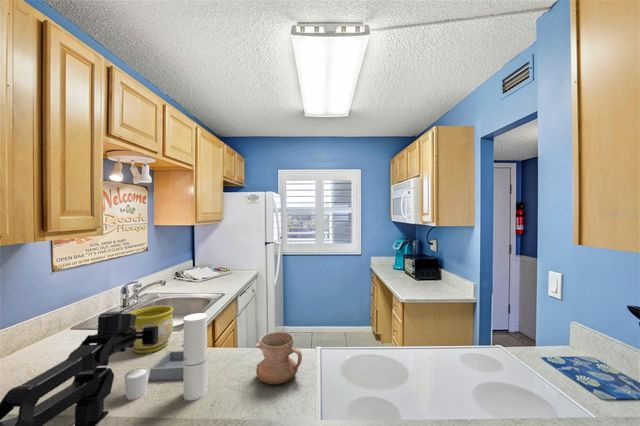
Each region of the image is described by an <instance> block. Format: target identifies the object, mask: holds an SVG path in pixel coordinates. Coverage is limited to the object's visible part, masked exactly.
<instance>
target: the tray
mask: <svg viewBox="0 0 640 426" xmlns="http://www.w3.org/2000/svg"><path fill="white" fill-rule="evenodd" d="M183 365H184V350H169V351H168V352H167V353H166V354H165V355H164V356H163V357H162V358H160V359H159V360H158V362H156V363H155V364H154V365H153V366H152V367H151V368H150V369H149V373H150V374H149V375H150V377H149V379H150V381H165V380H166V381H168V380H169V381H170V380H183Z"/></svg>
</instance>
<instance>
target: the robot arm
mask: <svg viewBox="0 0 640 426" xmlns="http://www.w3.org/2000/svg"><path fill="white" fill-rule="evenodd" d="M136 318H137V316H136V315H134V314H130V312H128V313H123V311H110V312H103V313H100V315H98V317H97V333H96V334H88V335H87V336H86V337H85V338H84V340H82V342H81V343H80V344H79V346H78V347H77V348H75V349H74V350H72V351H71V352H70V353H69V355H68V357H67V358H66V359H65V360H63V361H61V362H60V363H57V364H56V365H55V366H53V367H51V368H50V369H49V368H48V369H47V370H46V371H43V372H42V373H40V374H38V375H37V376H35V377H33V378H31V379H30V380H29V379H28V380H27V381H26V382H24V383H22V384H20V385H18V386H14V387H12V388H11V389H9V390H8V391H7V392H6V394H5V395H4V396H3V398H2V399H1V401H0V426H45V424H47V423H48V422H50V421H51V420H53V419H54V418H56V417H57V416H59V415H61V414H62V413H63V412H65V411H66V410H68V409H69V408H71V407H73V405H75V407H74V422H75V426H95V425H96V424H97V423H98V422H99V421H100V420H101V419H102V420H103V419H104V418H105V417H106V416H107V415H109V410H104V409H105V408H104V402H105V400H104V399H106V398H107V397H108V396H109V395H111V392H112V388H113V383H114V379H115V374H114V372H113V370H112V368H111V367H109V368H107V366H108V365H109V360H110V359H109V358H110V357H111V356H113V355H116V354H118V353H124V352H126V351H127V348H129V349H130V348H131V349H132V347H134V342H135V341H136V339H142V345H143V346H154V345H155V344H157V343H158V326H147V327H144V329H143V331H138V332H136V328H133V327H134V325H135V321H136ZM138 334H142V335H138ZM73 377H74V378H73ZM71 378H73V381H72V383H71V384H69V385H68V386H66V387H65V388H63V389H62V390H60V391H58V392H57V393H55V394H53V395H51V396H49V397H48V398H46V399H44V400H43V401H40V403H38V402H39V400H40V399H41V398H43V397H44V396H46V395H47V394H49V393H50V392H51V391H53V390H55V389H57V388H58V387H59V386H61V385H63V384H64V383H66V382H68V381H69V380H70V379H71ZM15 408H19V409H18V415H17V416H15V417H11V418H8V419H4V418H5V417H6V416H7V415H8V414H9V413H11V411H13V410H14V409H15ZM2 419H4V420H2ZM102 420H101V421H102ZM101 421H100V422H101ZM100 422H99V423H100ZM99 423H98V424H99ZM98 424H97V425H98ZM97 425H96V426H97Z"/></svg>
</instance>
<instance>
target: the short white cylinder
mask: <svg viewBox="0 0 640 426" xmlns="http://www.w3.org/2000/svg"><path fill="white" fill-rule="evenodd" d="M149 373H150V369H149V368H147V367H139V368H135V369H132V370H130V371H128V372H126V373H125V374H124V376H123V377H124V386H125V387H124V388H125V398H126V400H128V401H132V400H133V401H134V400H137V399H140V398H142V397H144V396H145V395H146V394H147V392H148V385H149V375H150V374H149Z"/></svg>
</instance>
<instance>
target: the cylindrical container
mask: <svg viewBox="0 0 640 426" xmlns="http://www.w3.org/2000/svg"><path fill="white" fill-rule="evenodd" d="M183 351H184V365H183V379H182V380H183V385H182V387H183V393H182V394H183V399H184V400H186V401H197V400H200V399H201V398H203V397H204V396H206V394H207V393H208V315H207V313H202V312H200V313H191V314H188V315H186V316H184V317H183Z"/></svg>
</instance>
